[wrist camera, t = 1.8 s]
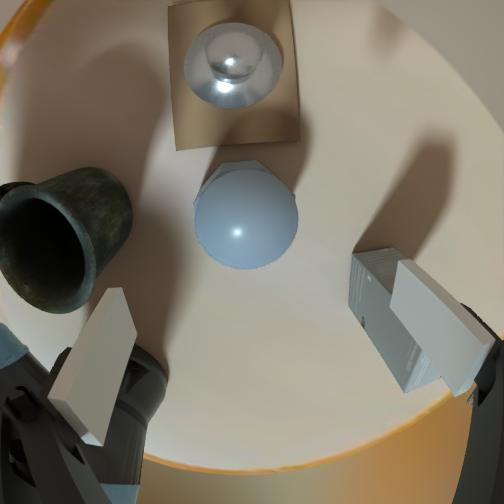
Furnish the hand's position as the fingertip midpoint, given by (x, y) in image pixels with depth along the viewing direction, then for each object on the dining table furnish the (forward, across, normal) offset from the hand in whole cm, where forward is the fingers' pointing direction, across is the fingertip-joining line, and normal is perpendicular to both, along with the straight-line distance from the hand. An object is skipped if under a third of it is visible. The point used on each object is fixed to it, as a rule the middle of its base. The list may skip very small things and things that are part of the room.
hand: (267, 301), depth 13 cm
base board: (+18, 0, +14) cm, 23 cm away
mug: (+18, -18, +2) cm, 26 cm away
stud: (+18, 0, +14) cm, 23 cm away
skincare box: (+19, +16, -11) cm, 27 cm away
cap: (+18, 0, 0) cm, 18 cm away
